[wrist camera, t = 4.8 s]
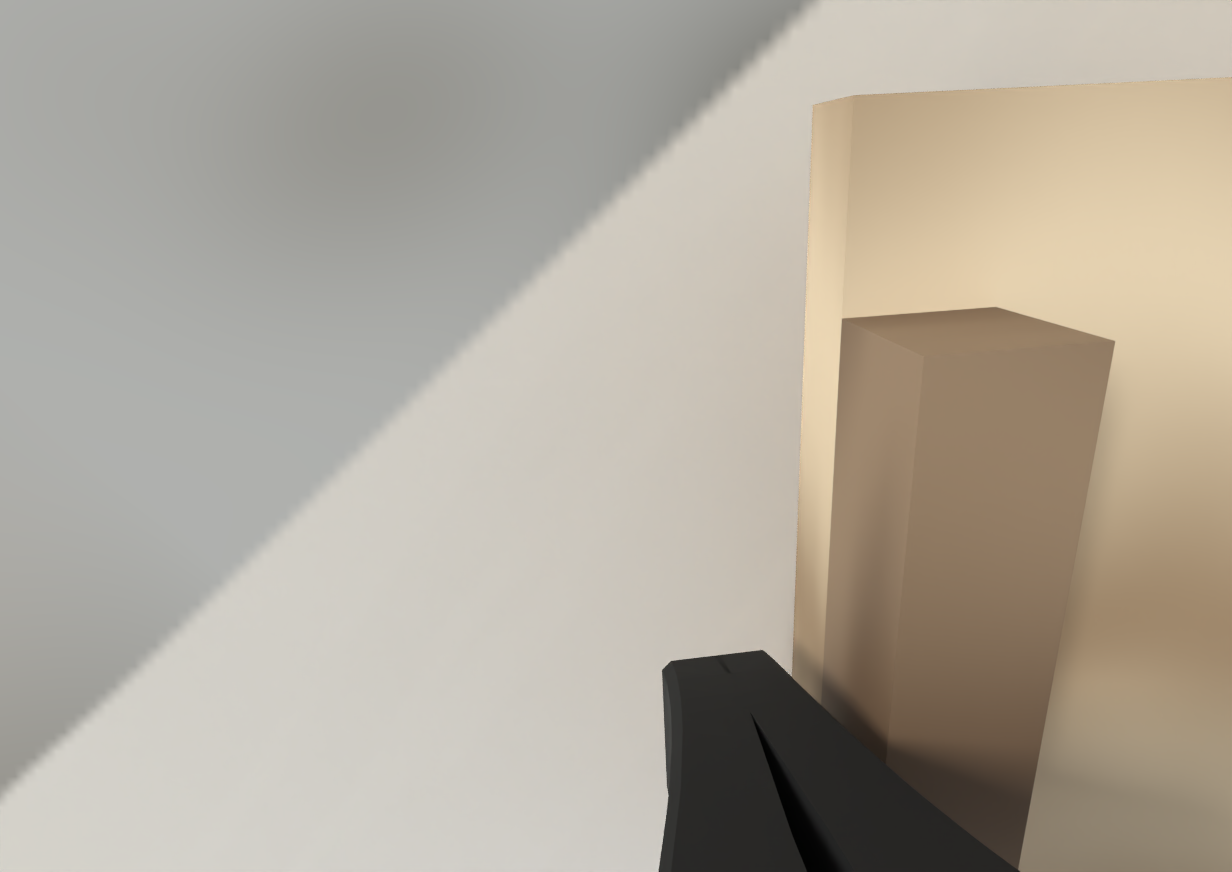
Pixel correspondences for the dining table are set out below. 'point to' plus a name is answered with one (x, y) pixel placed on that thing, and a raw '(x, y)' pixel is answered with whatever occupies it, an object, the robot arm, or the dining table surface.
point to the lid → (1026, 461)
